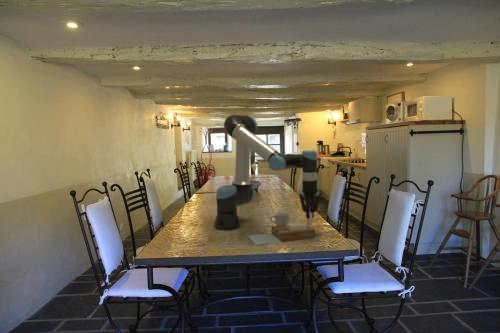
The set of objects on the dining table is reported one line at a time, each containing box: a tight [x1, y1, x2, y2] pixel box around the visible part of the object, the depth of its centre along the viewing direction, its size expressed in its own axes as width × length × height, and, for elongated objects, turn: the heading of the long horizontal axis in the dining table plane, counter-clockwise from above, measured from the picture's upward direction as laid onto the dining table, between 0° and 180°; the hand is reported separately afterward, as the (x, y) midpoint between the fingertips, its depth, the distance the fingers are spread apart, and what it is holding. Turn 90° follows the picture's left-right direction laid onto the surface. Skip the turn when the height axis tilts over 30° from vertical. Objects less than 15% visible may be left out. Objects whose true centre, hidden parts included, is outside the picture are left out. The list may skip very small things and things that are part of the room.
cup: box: [269, 211, 290, 226], centre depth 186 cm, size 11×8×8 cm
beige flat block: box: [286, 221, 308, 230], centre depth 169 cm, size 6×9×2 cm, turn 107°
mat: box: [247, 232, 282, 246], centre depth 164 cm, size 15×13×1 cm
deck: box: [271, 225, 316, 243], centre depth 169 cm, size 14×18×4 cm
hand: (309, 224), depth 171 cm, fingers closed
